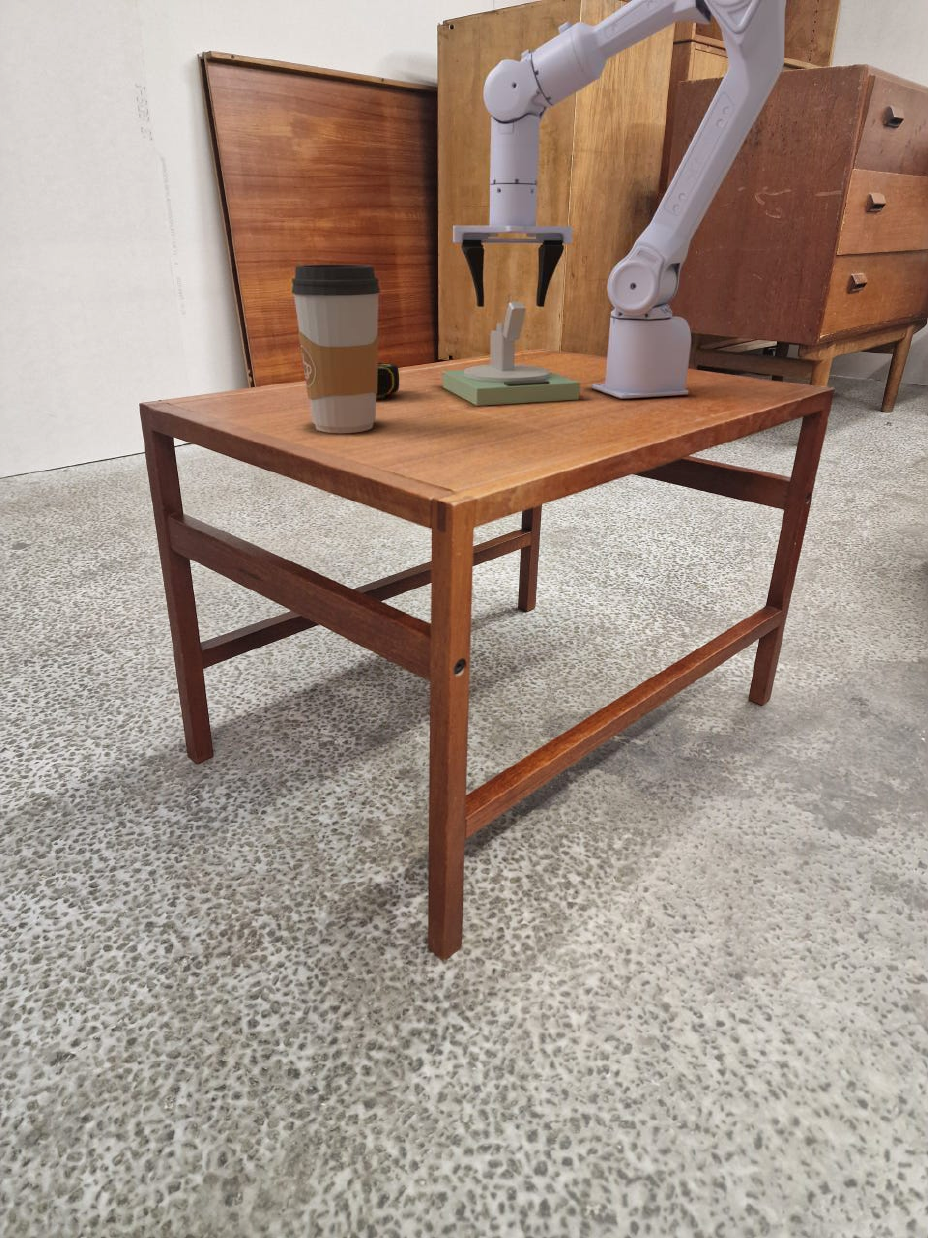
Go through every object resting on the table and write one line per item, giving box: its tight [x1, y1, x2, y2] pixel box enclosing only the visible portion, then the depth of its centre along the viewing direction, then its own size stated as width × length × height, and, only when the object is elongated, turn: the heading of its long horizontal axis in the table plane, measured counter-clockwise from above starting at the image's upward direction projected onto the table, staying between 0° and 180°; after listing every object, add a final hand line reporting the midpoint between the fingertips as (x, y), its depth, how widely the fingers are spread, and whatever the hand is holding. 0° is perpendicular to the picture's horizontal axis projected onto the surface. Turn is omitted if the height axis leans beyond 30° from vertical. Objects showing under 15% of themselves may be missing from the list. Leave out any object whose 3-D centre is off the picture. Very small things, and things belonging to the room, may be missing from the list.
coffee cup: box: [291, 264, 381, 434], centre depth 78 cm, size 8×8×15 cm
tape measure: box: [376, 362, 400, 400], centre depth 96 cm, size 7×7×4 cm
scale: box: [442, 363, 581, 407], centre depth 98 cm, size 13×13×3 cm
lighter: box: [489, 301, 527, 371], centre depth 97 cm, size 7×2×8 cm, turn 19°
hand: (510, 306), depth 102 cm, fingers open, 7 cm apart
